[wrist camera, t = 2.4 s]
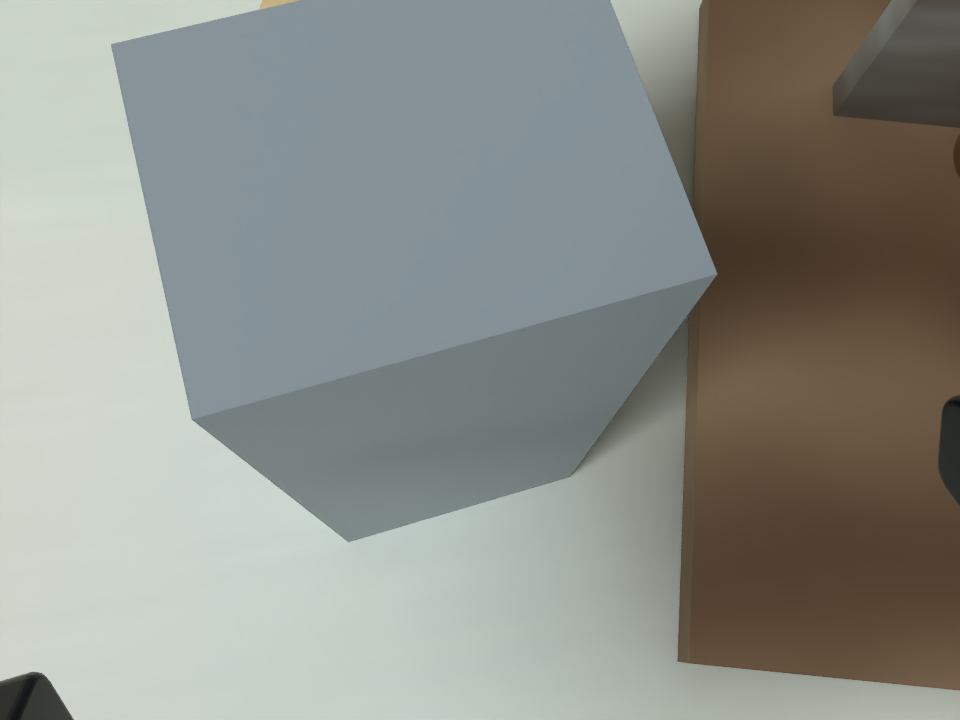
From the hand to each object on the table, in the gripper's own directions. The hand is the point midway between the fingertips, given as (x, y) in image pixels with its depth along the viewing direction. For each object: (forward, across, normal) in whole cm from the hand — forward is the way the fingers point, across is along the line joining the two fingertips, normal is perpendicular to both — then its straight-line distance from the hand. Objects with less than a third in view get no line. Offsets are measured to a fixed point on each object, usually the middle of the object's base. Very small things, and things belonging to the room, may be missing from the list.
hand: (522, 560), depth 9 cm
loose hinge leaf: (+10, 0, +5) cm, 12 cm away
